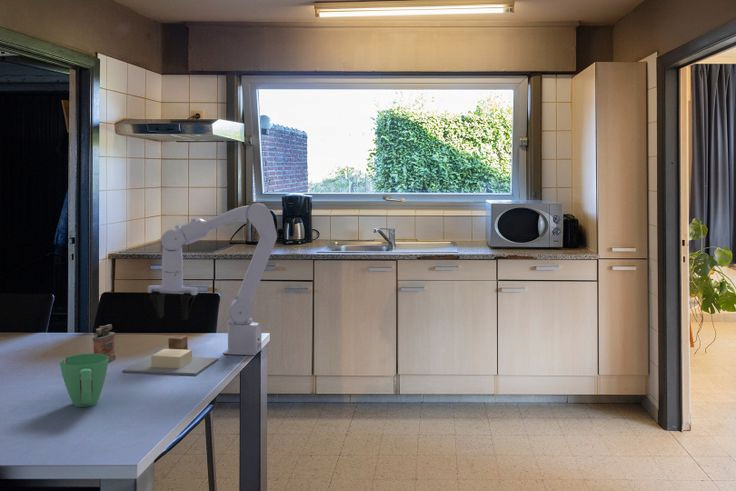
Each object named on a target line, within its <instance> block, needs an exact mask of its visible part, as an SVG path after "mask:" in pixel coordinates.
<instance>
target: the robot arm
mask: <svg viewBox="0 0 736 491" xmlns="http://www.w3.org/2000/svg"><path fill="white" fill-rule="evenodd" d="M247 219H248V221H249V222H250V223H251V225H252V226H253V227H254V228H255V230H256V232H257V234H258V236H259V240H258V243H257V245H256V247H255V250H254V252H253V255H252V257H251V261H250V262H249V265H248V268H247V270H246V272H245V275H244V278H243V280H242V283H241V286H240V288H239V290H238V292H237V293H236V296H235V297H234V298H233V299H232V300H231V301H230V303H229V307H228V308H229V309H228V310H229V311H228V316H229V319H228V320H227V349H226V350H225V351H223V352H222V354H223V355H239V356H256V355H257V354H259V352H261V351H262V350H263V346H262V325H261V323H259V322H256V321H255V322H254V320H253V318H252V317H251V316H252V305H253V303H254V302H253V301H254V298H255V295H256V292H257V290H258V287H259V285H260V282H261V280H262V277H263V276H264V275H263V274H264V272H265V269H266V267H267V264H268V262H269V260H270V257H271V254H272V251H273V249H274V247H275V244H276V242H277V239H278V235H277V234H278V233H277V230H276V225H275V222H274V216H273V214H272V213H271V211H270V210H269V208H268V207H267V205H265V204H264V203H260V202H255V203H252V204H250V205H243V206H240V207H236V208H233V209H230V210H228V211H226V212H224V213H222V214H219V215H217V216H216V215H215V216H214V217H212V218H210V219H207V220H205V219H202V218H196V217H194V218H192V219H190V222H186V223H184V224H182V225H179V224H177V225H175V226H174V227H175V229H173V228H172V229H168V230H166V231H165V232H164V233H163V234H162V235H161V238H160V242H161V243H160V244H161V245H162V251H161V252H162V255H161V279H162V280H161V285H160V284H159V285H158V284H157V285H156V284H153V285H152V284H151V285H147V293H148V294H149V293H150V294H149V295H148V296H149V299H150V300H151V302H152V303H153V306H154V309H155V312H156V317H157V319H162V318H164V315H165V309H164V308H165V307H164V306H165V298H166V295H167V294H174V295H177V294H178V295H179V299H180V300H179V301H180V305H181V320H182V321H185V320H188V319H189V315H190V310H191V307H192V305H193V303H194V301H195V299H196V298H197V295H198V292H199V290H198V287H193V286H187V285H186V286H185V285H184V255H183V245H190V244H193V243H195V242H198V241H200V240H203V239H205V238H207V237H209V235H210V232H211V231H213V230H215V229H217V228H221V227H223V226H227V225H230V224H232V223H235V222H238V223H239V222H241V223H247Z"/></svg>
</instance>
